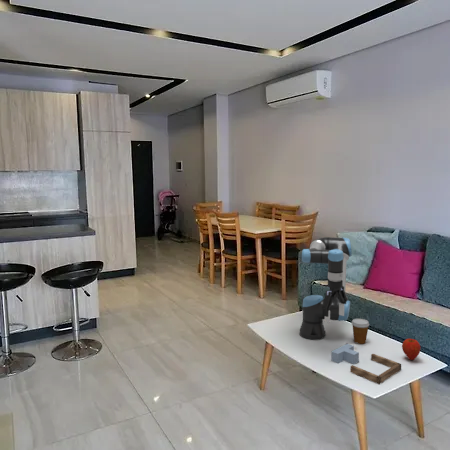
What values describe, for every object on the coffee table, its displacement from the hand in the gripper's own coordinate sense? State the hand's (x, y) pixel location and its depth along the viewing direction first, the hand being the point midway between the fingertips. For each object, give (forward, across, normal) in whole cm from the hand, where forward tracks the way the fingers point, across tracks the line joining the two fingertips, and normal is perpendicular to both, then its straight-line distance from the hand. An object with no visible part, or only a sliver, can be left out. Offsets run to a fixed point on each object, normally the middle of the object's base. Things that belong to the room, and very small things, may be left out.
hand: (334, 318), depth 211 cm
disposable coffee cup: (+19, +22, -3) cm, 29 cm away
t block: (+19, -2, -10) cm, 21 cm away
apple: (+19, +21, -32) cm, 42 cm away
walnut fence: (+19, -3, -25) cm, 31 cm away
